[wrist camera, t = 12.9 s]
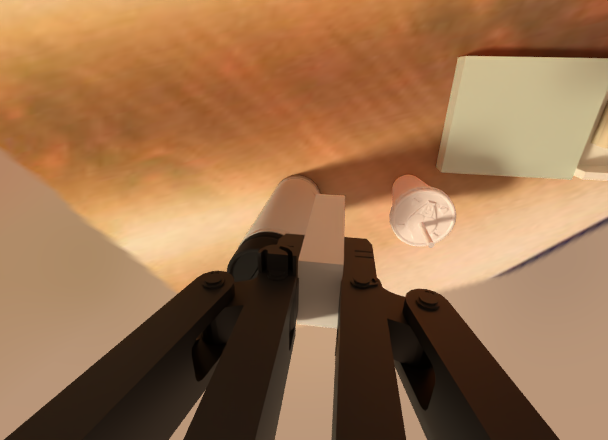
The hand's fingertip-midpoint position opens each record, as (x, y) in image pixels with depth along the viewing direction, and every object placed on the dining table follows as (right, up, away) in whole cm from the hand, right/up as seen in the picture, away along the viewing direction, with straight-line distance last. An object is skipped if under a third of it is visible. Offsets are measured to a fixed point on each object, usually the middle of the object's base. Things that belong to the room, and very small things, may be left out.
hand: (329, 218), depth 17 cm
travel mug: (-2, +3, +26) cm, 26 cm away
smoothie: (+12, +4, +24) cm, 27 cm away
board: (+22, +11, +19) cm, 31 cm away
